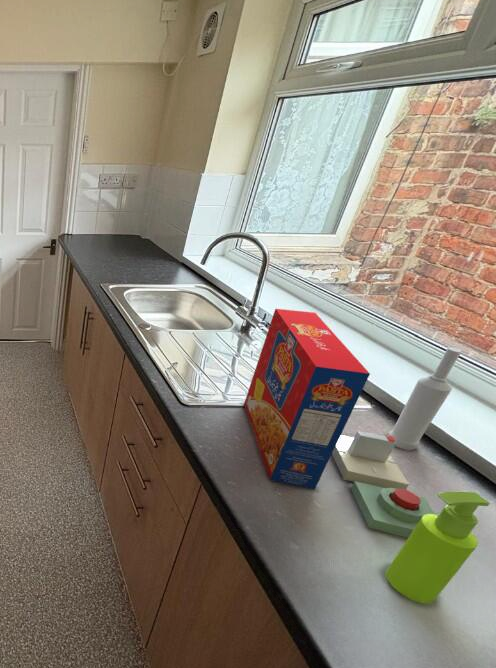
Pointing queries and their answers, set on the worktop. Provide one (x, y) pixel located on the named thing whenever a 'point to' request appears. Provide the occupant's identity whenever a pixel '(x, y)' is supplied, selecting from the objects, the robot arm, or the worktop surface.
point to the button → (405, 499)
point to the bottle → (424, 403)
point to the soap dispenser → (436, 548)
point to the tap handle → (372, 446)
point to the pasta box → (301, 396)
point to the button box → (387, 510)
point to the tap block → (367, 468)
